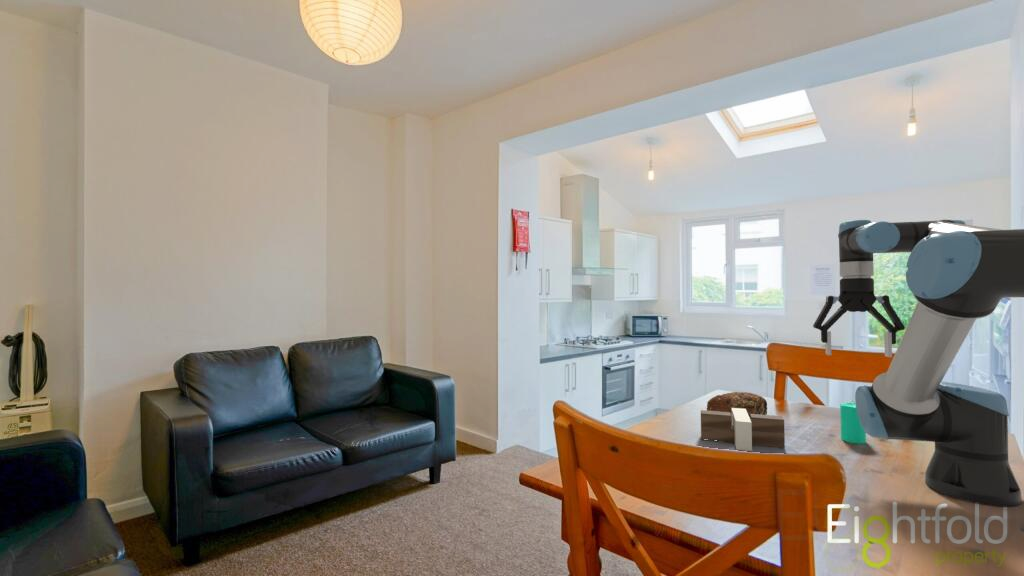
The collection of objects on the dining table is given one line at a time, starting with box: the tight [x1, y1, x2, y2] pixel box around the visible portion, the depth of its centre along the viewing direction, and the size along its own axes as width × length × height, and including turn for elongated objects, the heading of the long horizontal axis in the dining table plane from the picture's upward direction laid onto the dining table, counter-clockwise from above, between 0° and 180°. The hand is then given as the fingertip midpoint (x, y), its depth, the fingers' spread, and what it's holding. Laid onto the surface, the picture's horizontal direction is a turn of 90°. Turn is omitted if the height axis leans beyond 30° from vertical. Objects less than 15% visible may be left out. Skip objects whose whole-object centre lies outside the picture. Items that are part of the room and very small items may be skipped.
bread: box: [706, 391, 768, 426], centre depth 160 cm, size 19×11×10 cm, turn 118°
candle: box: [839, 399, 867, 445], centre depth 139 cm, size 6×6×12 cm
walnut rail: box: [700, 409, 786, 449], centre depth 139 cm, size 4×22×8 cm, turn 69°
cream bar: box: [731, 408, 753, 452], centre depth 139 cm, size 16×4×8 cm, turn 159°
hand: (857, 355), depth 128 cm, fingers open, 13 cm apart
